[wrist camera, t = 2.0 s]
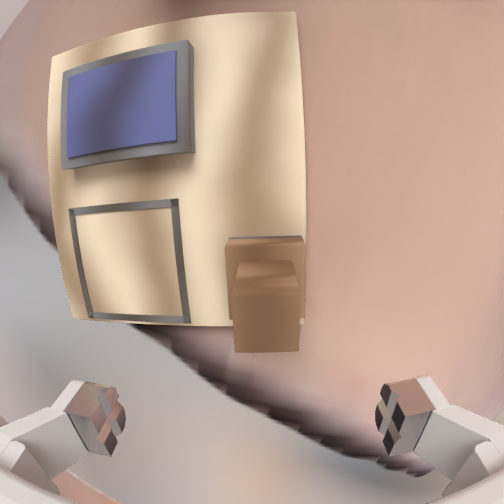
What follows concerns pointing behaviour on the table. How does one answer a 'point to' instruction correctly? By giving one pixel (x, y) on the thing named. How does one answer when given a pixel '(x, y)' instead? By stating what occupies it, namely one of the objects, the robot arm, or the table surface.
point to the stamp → (266, 291)
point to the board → (173, 162)
